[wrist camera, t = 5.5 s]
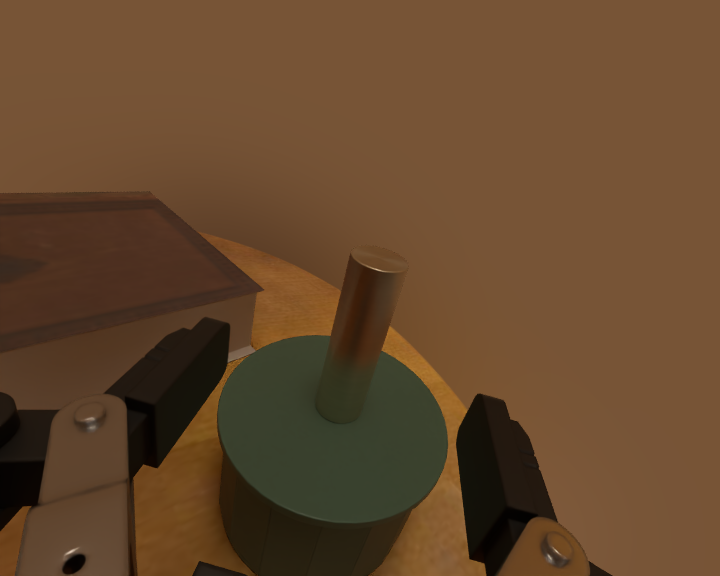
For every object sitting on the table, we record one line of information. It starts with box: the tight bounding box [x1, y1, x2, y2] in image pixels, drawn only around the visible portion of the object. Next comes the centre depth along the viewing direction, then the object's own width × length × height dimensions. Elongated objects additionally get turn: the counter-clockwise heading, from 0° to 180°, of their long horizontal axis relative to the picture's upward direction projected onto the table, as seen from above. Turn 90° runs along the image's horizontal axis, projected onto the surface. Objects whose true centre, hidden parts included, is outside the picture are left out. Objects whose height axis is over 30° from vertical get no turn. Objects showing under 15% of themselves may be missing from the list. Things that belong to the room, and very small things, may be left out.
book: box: [0, 192, 264, 410], centre depth 28 cm, size 24×28×6 cm
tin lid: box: [217, 246, 448, 529], centre depth 18 cm, size 12×12×10 cm
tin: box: [219, 453, 412, 576], centre depth 22 cm, size 11×11×7 cm
